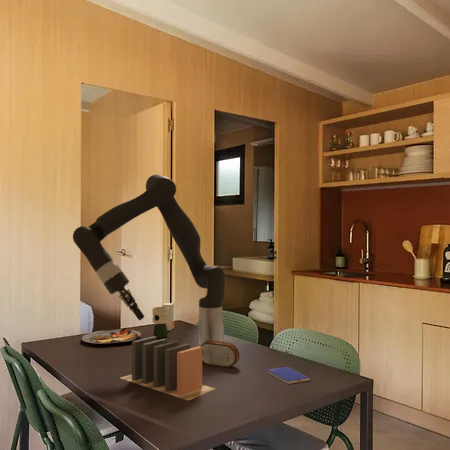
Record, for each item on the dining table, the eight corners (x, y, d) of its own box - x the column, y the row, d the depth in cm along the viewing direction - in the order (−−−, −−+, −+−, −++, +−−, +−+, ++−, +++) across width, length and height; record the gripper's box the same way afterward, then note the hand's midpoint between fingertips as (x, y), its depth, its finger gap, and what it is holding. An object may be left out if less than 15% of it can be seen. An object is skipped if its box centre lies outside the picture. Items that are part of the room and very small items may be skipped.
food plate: (137, 331, 218) (137, 324, 218) (145, 344, 195) (145, 336, 195) (81, 337, 210) (81, 329, 210) (82, 351, 188) (82, 342, 188)
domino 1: (131, 379, 148) (132, 341, 148) (153, 372, 155) (153, 336, 155) (135, 380, 147) (135, 342, 147) (156, 373, 154) (156, 336, 154)
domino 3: (153, 386, 142) (153, 346, 142) (174, 379, 149) (174, 340, 149) (157, 387, 141) (157, 347, 141) (178, 380, 148) (178, 341, 148)
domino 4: (164, 390, 138) (165, 349, 138) (186, 382, 145) (186, 343, 145) (168, 391, 137) (168, 350, 137) (190, 383, 144) (190, 344, 144)
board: (119, 380, 149) (119, 378, 149) (148, 371, 159) (148, 369, 159) (188, 403, 130) (188, 400, 130) (216, 391, 140) (216, 388, 140)
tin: (239, 367, 164) (239, 343, 164) (236, 369, 161) (236, 345, 161) (201, 361, 170) (201, 338, 170) (197, 364, 168) (197, 340, 168)
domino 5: (177, 394, 135) (177, 352, 135) (198, 385, 142) (198, 346, 142) (181, 395, 134) (181, 353, 134) (202, 387, 141) (202, 347, 141)
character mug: (147, 336, 209) (147, 307, 209) (161, 334, 213) (161, 305, 213) (159, 341, 200) (159, 310, 200) (174, 338, 205) (174, 308, 205)
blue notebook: (267, 369, 158) (288, 380, 147) (287, 366, 161) (309, 376, 150) (267, 374, 158) (288, 385, 147) (287, 370, 161) (309, 381, 150)
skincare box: (170, 330, 220) (170, 305, 220) (161, 330, 221) (161, 304, 221) (174, 327, 226) (174, 303, 226) (165, 327, 227) (165, 302, 227)
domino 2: (142, 382, 145) (142, 343, 145) (163, 375, 152) (163, 338, 152) (145, 384, 144) (146, 344, 144) (167, 376, 151) (167, 339, 151)
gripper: (103, 285, 165) (132, 326, 163) (101, 281, 152) (132, 325, 151) (122, 273, 167) (150, 313, 165) (121, 267, 154) (152, 311, 153)
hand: (142, 318), depth 158 cm, fingers closed
